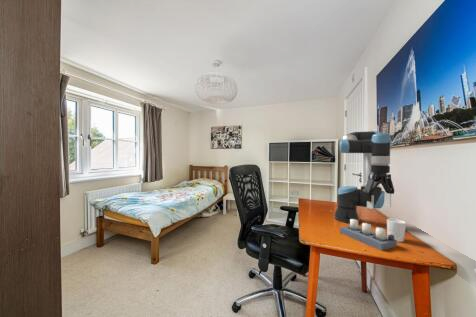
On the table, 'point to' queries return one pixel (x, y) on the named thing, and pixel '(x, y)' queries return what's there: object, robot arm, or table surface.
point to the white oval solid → (366, 228)
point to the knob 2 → (380, 234)
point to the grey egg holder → (369, 238)
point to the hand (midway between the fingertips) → (379, 207)
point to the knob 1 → (353, 224)
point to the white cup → (396, 229)
